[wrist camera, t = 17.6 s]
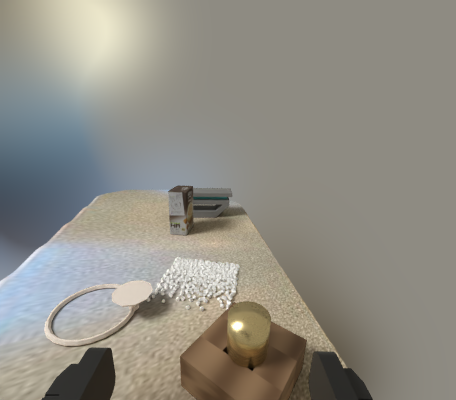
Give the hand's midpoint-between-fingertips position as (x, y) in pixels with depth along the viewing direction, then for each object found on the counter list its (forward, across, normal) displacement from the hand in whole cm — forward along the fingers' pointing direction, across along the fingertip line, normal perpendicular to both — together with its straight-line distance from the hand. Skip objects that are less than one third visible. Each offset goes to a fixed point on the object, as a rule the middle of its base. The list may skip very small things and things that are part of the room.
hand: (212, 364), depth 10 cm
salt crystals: (+45, +6, +30) cm, 55 cm away
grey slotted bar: (+93, +9, +29) cm, 98 cm away
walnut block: (+21, -4, +29) cm, 36 cm away
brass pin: (+21, -4, +29) cm, 36 cm away
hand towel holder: (+35, +25, +30) cm, 52 cm away
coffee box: (+76, +15, +29) cm, 83 cm away
